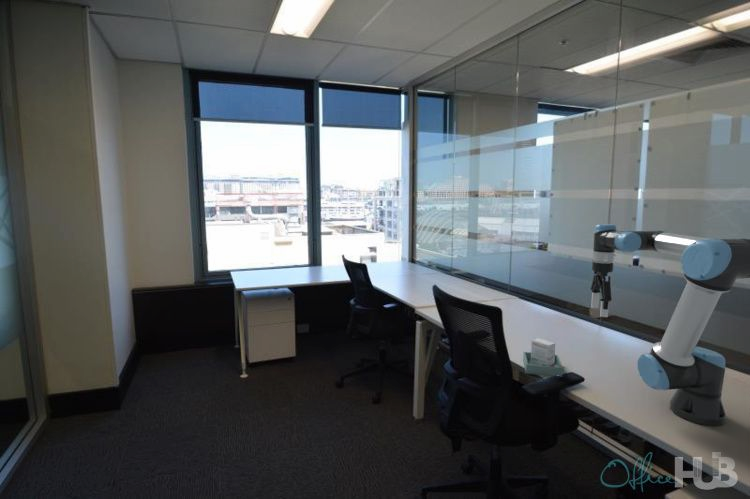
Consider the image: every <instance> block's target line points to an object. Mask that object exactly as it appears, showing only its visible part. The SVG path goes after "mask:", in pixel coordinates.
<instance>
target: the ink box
mask: <svg viewBox="0 0 750 499" xmlns="http://www.w3.org/2000/svg"><path fill="white" fill-rule="evenodd" d="M530 345H531V346H530V347H531V348H530V349H531V350H530V352H531V364H533V365H542V366H551V367H554V364H555V355H556V343H555V342H552V341H548V340H546V339H543V338H540V337H537V338H534V339H532V340H531V344H530Z"/></svg>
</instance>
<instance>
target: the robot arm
mask: <svg viewBox="0 0 750 499" xmlns="http://www.w3.org/2000/svg"><path fill="white" fill-rule="evenodd" d="M615 250H616V251H621V252H623V253H626V252H627V253H634V252H635V251H636V252H637V251H639V252H640V251H653V252H657V253H663V254H668V255H675V256H679V257H681V258H680V264H681V266H680V267H681V269H682V272H683V273H684V274H683V278H684V279H685V281H686V282H687V283H686V285H685V287H684V289H683V291H682V294H681V296H680V298H679V300H678V302H677V305H676V307H675V309H674V312H673V313H672V315H671V318H670V321H669V323H668V326H667V327H666V329H665V332H664V334H663V336H662V339H661V341H658V342H655V343H653V345H652V348H651V349H650V352H649V353H644V354H641V355H640V356H639V357H638V358H637V362H636V363H637V365H636V366H637V370H638V374H639V376H640V378H641V380H642V381H643V382H644V383H645V384H646V386H647V387H648V388H651V389H652V390H657V391H667V390H669V391H670V390H676V391H675V392H674V394H673V396H672V397H671V399H670V402H669V409H670V411H671V410H672V411H673V412H672V411H671V412H672V413H673V414H675V415H676V416H678V417H679V418H682V419H685V420H686V421H689V422H692V423H695V424H698V425H702V426H703V425H704V426H709V427H710V426H712V427H718V426H722V425H725V423H726V417H727V416H726V412H725V409H724V408H725V407H724V404H723V401H722V400H723V399H722V395H723V394H722V393H723V386H724V378H725V372H726V369H727V368H726V358H725V357H724V355H722V354H721V353H719V352H717V351H714V350H711V349H708V348H704V347H700V346H697V344H698V342H699V341H700V338H701V336H702V334H703V332H704V330H705V329H706V326H707V325H708V322H709V320H710V318H711V317H712V314H713V312H714V310H715V308H716V306H717V304H718V301H719V299H720V297H721V296H722V294H724V293H728V292H730V291H732V288H733V287H734V284H735V283H736V281H737V280H739V279H741V280H742V279H750V238H708V237H699V236H694V235H693V236H692V235H686V234H678V233H671V232H668V231H665V230H617V226H616V225H615V224H612V223H611V224H610V223H599V224H596V225H595V227H594V233H593V251H592V266H591V270H592V271H593V277H592V282H591V286H590V290H591V306H590V308H592V309H599V306H600V310H599V311H600V313H599V316H600V317H603V318H608V317H609V310H610V302H612V300H613V299H612V290H611V276H610V275H608V273H612V272H613V271H614V263H613V262H614V261H615V260H614V257H616V254H615ZM600 294H601V299H600Z"/></svg>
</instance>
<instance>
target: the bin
mask: <svg viewBox="0 0 750 499" xmlns="http://www.w3.org/2000/svg"><path fill="white" fill-rule="evenodd" d="M522 361H523V367H524V371H525V372H524V373H525V374H527V375H535V376H536V375H537V376H545V377H552V376H557V375H563V376H564V366H563V364H562V362H561V359H560V357H559V355H558V354H555V364H554V367H551V366H542V365H533V364H531V351H529V352H528V351H523V355H522Z"/></svg>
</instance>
